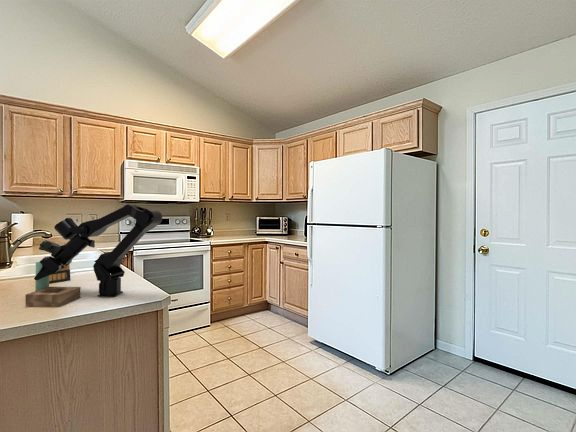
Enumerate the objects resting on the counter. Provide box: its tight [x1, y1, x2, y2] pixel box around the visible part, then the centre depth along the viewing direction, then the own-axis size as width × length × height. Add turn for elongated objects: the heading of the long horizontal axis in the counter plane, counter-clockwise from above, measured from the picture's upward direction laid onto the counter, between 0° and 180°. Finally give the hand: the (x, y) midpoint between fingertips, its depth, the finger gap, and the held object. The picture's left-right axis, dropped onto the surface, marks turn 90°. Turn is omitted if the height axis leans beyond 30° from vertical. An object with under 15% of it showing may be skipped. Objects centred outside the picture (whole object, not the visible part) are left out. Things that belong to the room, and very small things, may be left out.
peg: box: [34, 261, 50, 292], centre depth 117 cm, size 4×4×12 cm
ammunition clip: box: [43, 256, 71, 285], centre depth 139 cm, size 11×2×12 cm, turn 152°
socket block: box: [25, 286, 81, 308], centre depth 109 cm, size 11×11×4 cm
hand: (37, 278), depth 116 cm, fingers open, 5 cm apart
